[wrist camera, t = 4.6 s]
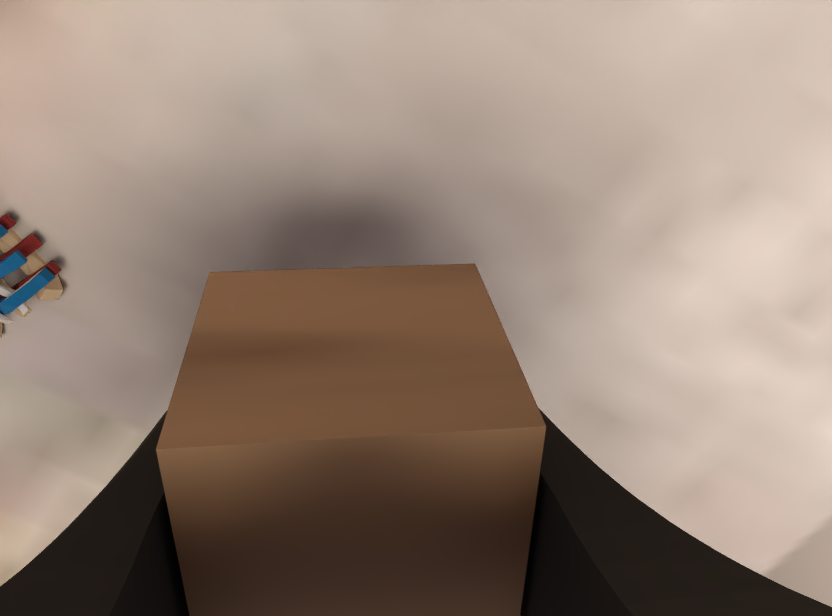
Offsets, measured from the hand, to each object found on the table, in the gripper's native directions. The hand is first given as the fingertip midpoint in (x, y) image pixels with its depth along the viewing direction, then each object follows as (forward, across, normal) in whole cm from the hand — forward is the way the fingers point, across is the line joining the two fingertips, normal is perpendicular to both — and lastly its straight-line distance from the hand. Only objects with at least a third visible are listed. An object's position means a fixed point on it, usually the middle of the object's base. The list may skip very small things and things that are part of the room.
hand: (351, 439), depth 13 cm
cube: (+2, 0, 0) cm, 2 cm away
